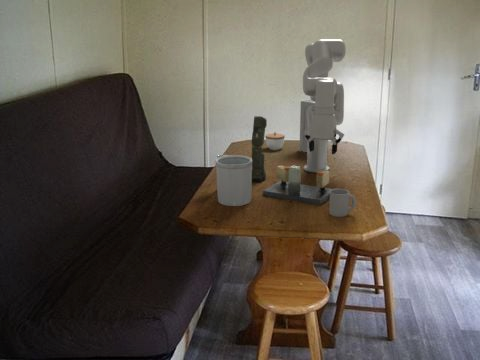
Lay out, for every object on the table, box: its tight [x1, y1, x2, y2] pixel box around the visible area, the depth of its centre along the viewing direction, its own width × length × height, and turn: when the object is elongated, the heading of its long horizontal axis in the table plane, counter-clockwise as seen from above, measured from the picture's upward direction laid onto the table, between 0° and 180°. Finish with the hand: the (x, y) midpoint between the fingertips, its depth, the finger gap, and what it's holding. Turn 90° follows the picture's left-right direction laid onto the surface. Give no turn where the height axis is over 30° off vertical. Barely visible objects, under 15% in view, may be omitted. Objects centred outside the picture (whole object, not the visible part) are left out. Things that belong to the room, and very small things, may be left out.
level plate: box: [262, 165, 333, 206], centre depth 235 cm, size 16×26×13 cm, turn 61°
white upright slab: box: [299, 98, 329, 153], centre depth 307 cm, size 19×15×28 cm
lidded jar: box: [264, 131, 286, 151], centre depth 315 cm, size 11×11×9 cm
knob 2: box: [315, 170, 331, 190], centre depth 234 cm, size 8×3×8 cm, turn 151°
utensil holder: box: [214, 154, 253, 207], centre depth 227 cm, size 15×15×18 cm
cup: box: [328, 188, 357, 218], centre depth 213 cm, size 7×10×9 cm
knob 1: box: [276, 165, 291, 184], centre depth 243 cm, size 8×3×8 cm, turn 22°
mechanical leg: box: [251, 115, 267, 184], centre depth 257 cm, size 14×7×30 cm, turn 168°
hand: (322, 152), depth 231 cm, fingers open, 9 cm apart
